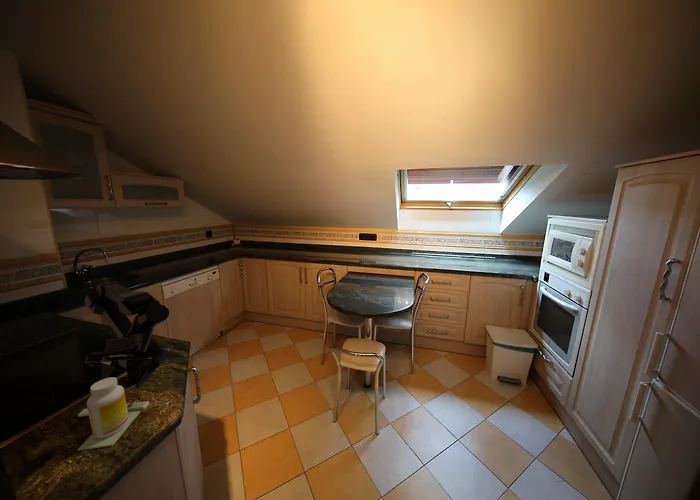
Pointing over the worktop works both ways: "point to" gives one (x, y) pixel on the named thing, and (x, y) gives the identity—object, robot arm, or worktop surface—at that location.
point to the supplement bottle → (107, 408)
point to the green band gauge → (111, 439)
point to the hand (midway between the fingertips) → (117, 390)
